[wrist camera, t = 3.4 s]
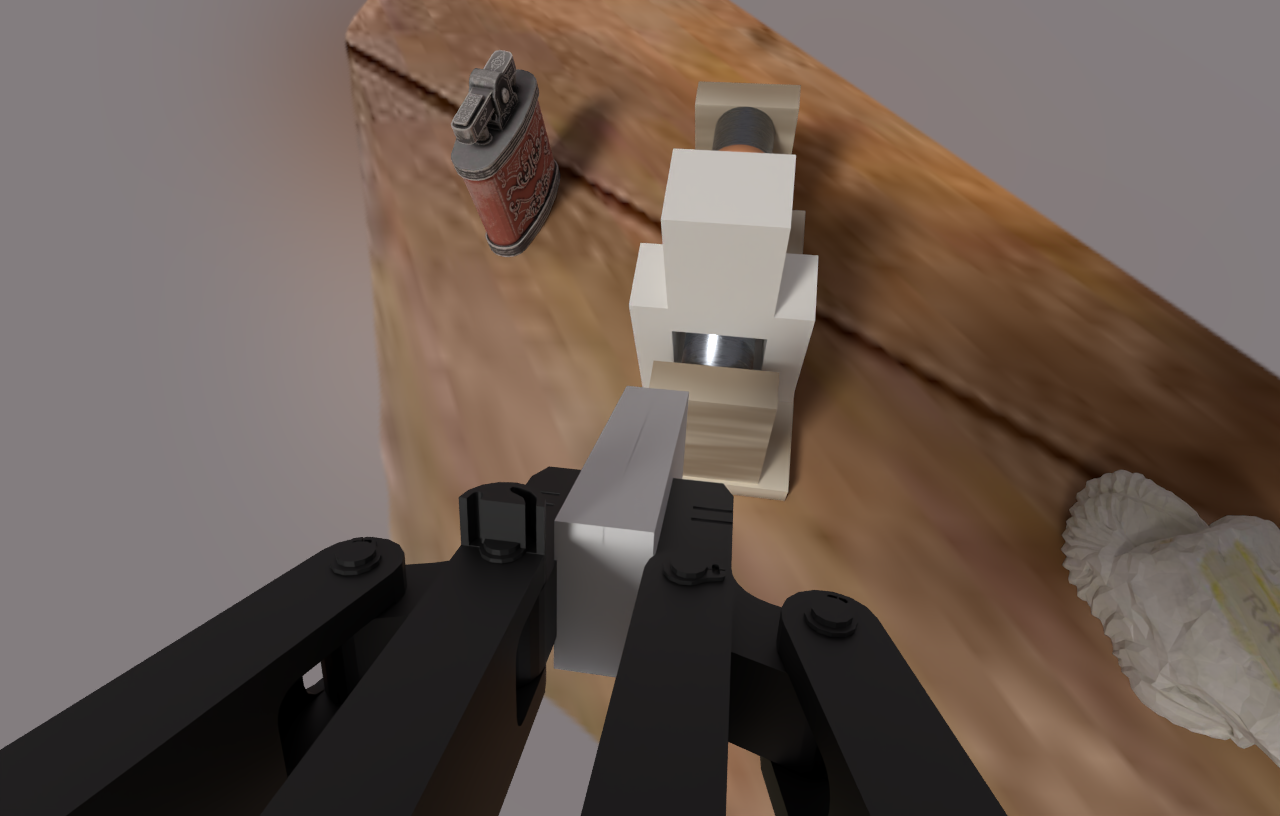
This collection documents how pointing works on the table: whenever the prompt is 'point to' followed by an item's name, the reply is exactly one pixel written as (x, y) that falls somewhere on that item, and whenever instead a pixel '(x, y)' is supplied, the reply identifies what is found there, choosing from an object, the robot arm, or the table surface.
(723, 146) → the pipe stand
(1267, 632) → the fossil replica
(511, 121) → the lighter
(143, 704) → the robot arm
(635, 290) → the white pipe saddle block
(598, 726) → the table surface
